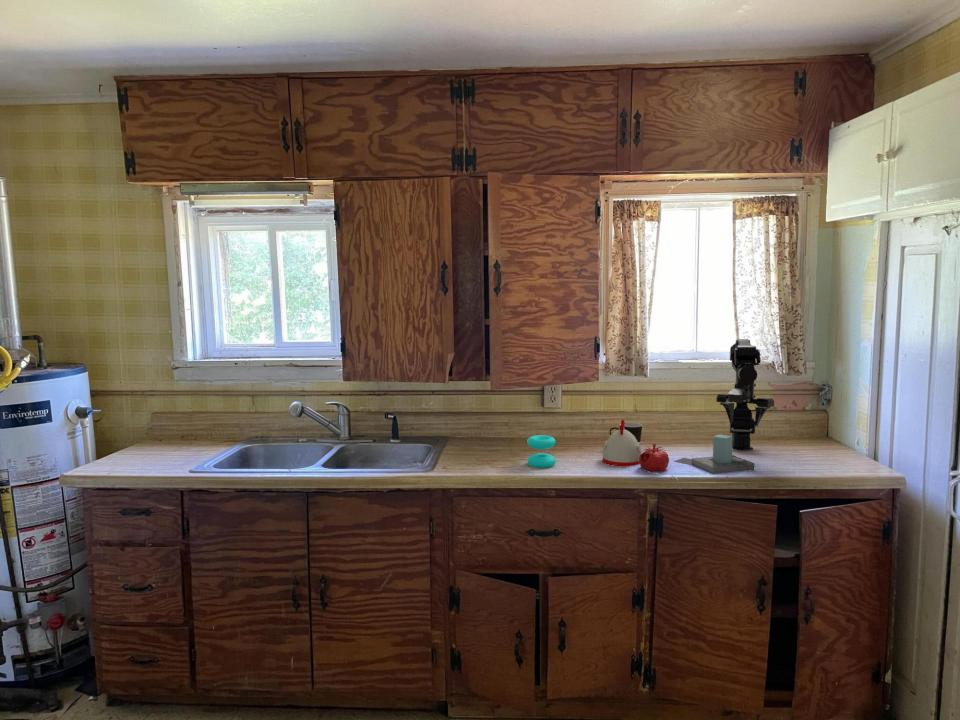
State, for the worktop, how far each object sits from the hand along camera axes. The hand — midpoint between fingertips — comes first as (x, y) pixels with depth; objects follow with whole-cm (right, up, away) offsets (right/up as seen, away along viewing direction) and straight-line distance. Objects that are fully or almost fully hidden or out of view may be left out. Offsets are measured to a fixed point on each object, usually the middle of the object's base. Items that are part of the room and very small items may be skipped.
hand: (743, 424), depth 222 cm
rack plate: (-11, -14, -9) cm, 20 cm away
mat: (-20, -13, -1) cm, 24 cm away
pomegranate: (-35, -15, -10) cm, 39 cm away
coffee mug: (-37, -12, +18) cm, 43 cm away
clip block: (-11, -14, -9) cm, 20 cm away
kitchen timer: (-43, -14, +1) cm, 45 cm away
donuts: (-72, -15, -1) cm, 74 cm away
